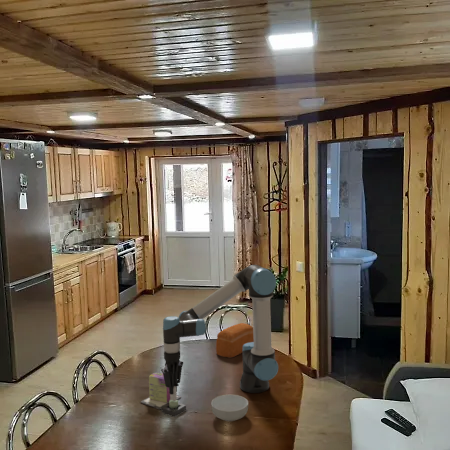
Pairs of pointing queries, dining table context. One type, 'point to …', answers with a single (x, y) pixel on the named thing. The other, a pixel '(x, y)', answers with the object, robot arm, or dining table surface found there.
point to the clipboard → (156, 403)
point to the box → (158, 388)
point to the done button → (173, 404)
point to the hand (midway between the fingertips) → (173, 399)
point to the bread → (233, 340)
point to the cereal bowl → (229, 407)
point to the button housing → (174, 413)
